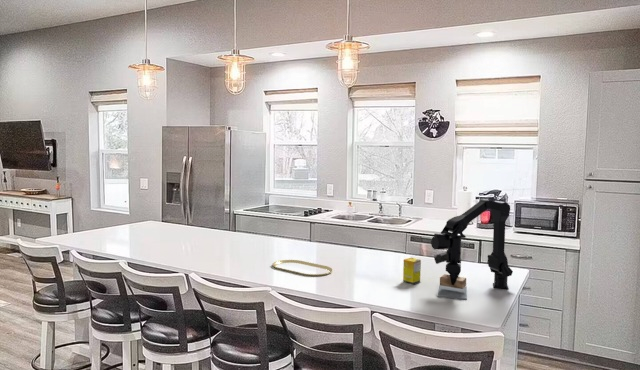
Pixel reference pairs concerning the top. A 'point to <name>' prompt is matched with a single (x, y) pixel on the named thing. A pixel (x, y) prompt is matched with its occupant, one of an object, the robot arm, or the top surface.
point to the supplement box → (411, 270)
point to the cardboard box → (446, 281)
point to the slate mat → (452, 292)
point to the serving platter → (304, 264)
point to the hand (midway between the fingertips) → (453, 282)
